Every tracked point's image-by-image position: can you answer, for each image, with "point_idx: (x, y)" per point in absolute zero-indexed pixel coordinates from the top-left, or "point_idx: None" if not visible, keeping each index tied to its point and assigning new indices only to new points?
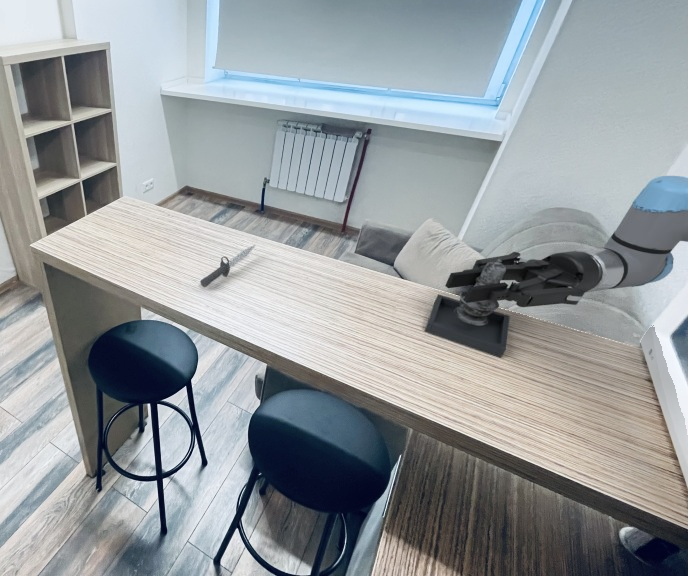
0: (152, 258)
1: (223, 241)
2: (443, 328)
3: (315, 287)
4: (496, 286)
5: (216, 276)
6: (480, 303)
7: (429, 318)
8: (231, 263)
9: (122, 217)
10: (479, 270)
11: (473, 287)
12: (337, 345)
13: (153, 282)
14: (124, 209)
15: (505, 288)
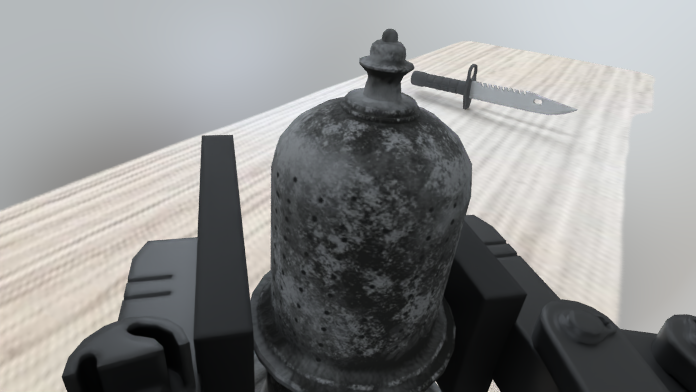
0: (482, 74)
1: (597, 120)
2: (255, 353)
3: (481, 185)
4: (198, 236)
5: (436, 82)
6: (259, 380)
7: None
8: (487, 93)
9: (587, 69)
10: (472, 248)
11: (224, 143)
12: (255, 168)
13: (418, 70)
14: (615, 71)
15: (195, 357)
